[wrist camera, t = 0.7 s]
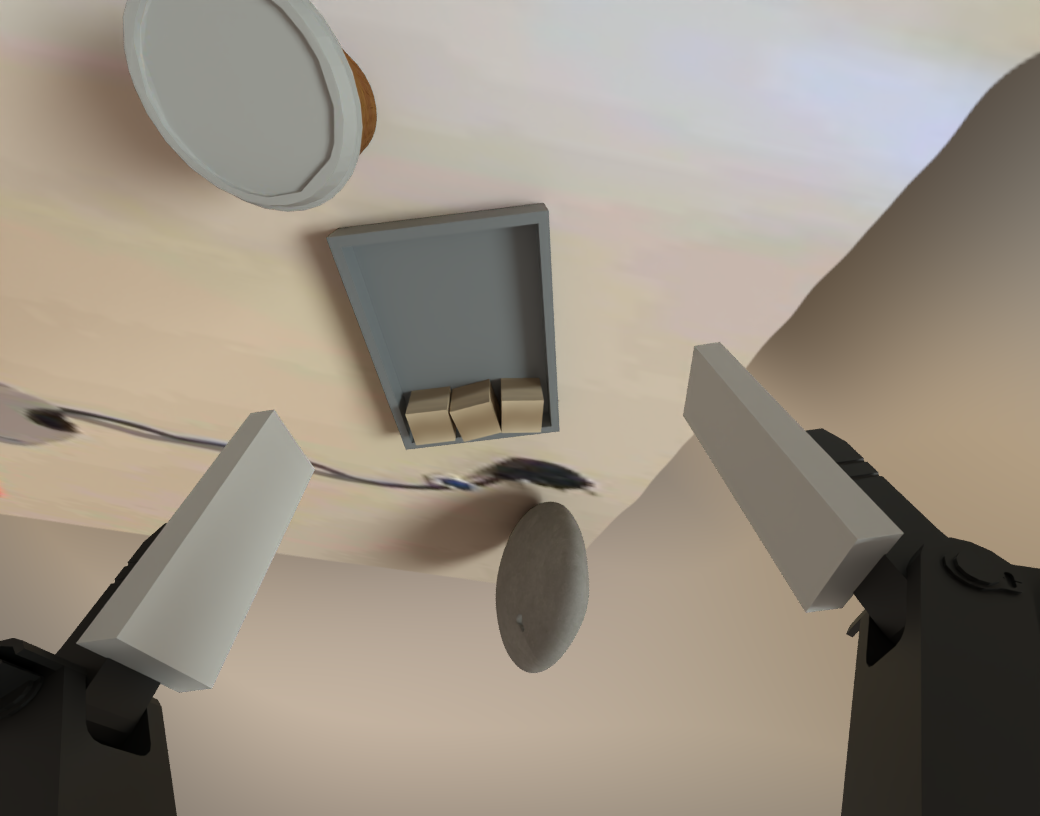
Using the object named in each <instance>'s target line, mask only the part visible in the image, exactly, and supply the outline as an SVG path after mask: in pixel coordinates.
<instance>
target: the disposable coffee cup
mask: <svg viewBox="0 0 1040 816" xmlns="http://www.w3.org/2000/svg"><path fill="white" fill-rule="evenodd" d="M123 32H124V50H125V55H126V59H127V64H128V69H129V72H130V75H131V78H132V81H133V84H134V87H135V89H136V91H137V94H138V96H139V98H140V100H141V102H142V104H143V106H144V108H145V110H146V112H147V114H148V116H149V117H150V119H151V120H152V122H153V123H154V125H155V126H156V128H157V129H158V131H159V132H160V134H161V135H162V136H163V138H164V139H165V141H166V142H167V143H168V144H169V145H170V146H171V147H172V149H173V150H174V151H175V152H176V153H177V154H178V155H179V156H180V157H181V158H182V159H183V160H184V161H185V162H186V164H187V165H188V166H189V167H190V168H192V169H193V170H194V171H196V172H197V173H198V174H200V175H201V176H203V177H204V178H205V179H207V180H208V181H209V182H211V183H212V184H213V185H215V186H216V187H217V188H219V189H221V190H223V191H226V192H228V193H230V194H232V195H234V196H236V197H238V198H240V199H241V200H243V201H246V202H249V203H251V204H254V205H257V206H260V207H262V208H265V209H272V210H279V211H286V212H288V211H301V210H307V209H310V208H313V207H316V206H319V205H321V204H323V203H325V202H326V201H328V200H330V199H331V198H333V197H334V196H335V195H336V194H337V193H338V192H339V191H340V190H341V189H342V188H343V187H344V185H345V184H346V183H347V181H348V180H349V178H350V177H351V176H352V174H353V171H354V168H355V166H356V163H357V160H358V157H359V155H360V154H361V153H362V151H363V150H364V149H365V148H366V147H367V146H368V144H369V143H370V141H371V139H372V137H373V134H374V132H375V127H376V121H377V114H376V105H375V100H374V95H373V92H372V89H371V87H370V84H369V82H368V81H367V79H366V77H365V75H364V73H363V72H362V71H361V69H360V68H359V66H358V65H357V64H356V63H355V62H354V61H353V60H352V59H351V58H350V57H349V56H348V54H347V53H346V52H345V51H344V50H343V49H342V48H341V46H340V43H339V42H338V40H337V39H336V37H335V35H334V34H333V32H332V31H331V29H330V27H329V26H328V24H327V23H326V21H325V19H324V18H323V16H322V15H321V14H320V13H319V12H318V10H317V9H316V8H315V7H314V6H313V4H312V3H311V2H310V1H309V0H127V2H126V7H125V11H124V15H123Z"/></svg>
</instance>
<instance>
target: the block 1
mask: <svg viewBox="0 0 1040 816" xmlns="http://www.w3.org/2000/svg"><path fill="white" fill-rule="evenodd" d="M451 396H452V392H451V388H450V386H448V387H440V388H432V389H423V390H415V391H412V392H411V396H410V399H409V403H408V407H407V410H406V414H405V415H406V418H407V421H408V424H409V427H410V429H411V432H412V435H413V438H414V441H415V444H416V445H424V444H432V443H440V442H449V441H455V438H456V428H457V427H456V425H455V423H454V421H453V419H452V417H451V414H450V404H451Z"/></svg>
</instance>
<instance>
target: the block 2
mask: <svg viewBox="0 0 1040 816" xmlns="http://www.w3.org/2000/svg"><path fill="white" fill-rule="evenodd" d="M450 414H451V417H452V419H453V421H454V423H455V425H456V427H457V429H458V431H459V433H460V435H461V437H462V439H463V441H464V442H466V441H470V440H474V439H478V438H482V437H486V436H489V435H493V434H497V433H501V432H502V429H501V408H500V406H499V403H498V401H497V398H496V395H495V393H494V390H493V388H492V385H491V383H490V380H489V379H487V380H484V381H480V382H476V383H473V384H469V385H465V386H461V387H458V388H454V389H452V396H451V404H450Z"/></svg>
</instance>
